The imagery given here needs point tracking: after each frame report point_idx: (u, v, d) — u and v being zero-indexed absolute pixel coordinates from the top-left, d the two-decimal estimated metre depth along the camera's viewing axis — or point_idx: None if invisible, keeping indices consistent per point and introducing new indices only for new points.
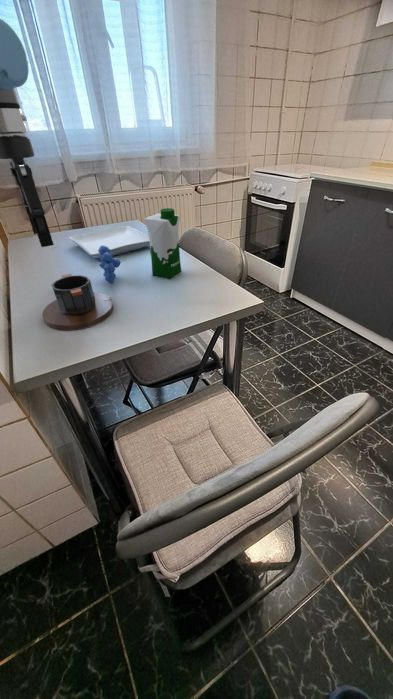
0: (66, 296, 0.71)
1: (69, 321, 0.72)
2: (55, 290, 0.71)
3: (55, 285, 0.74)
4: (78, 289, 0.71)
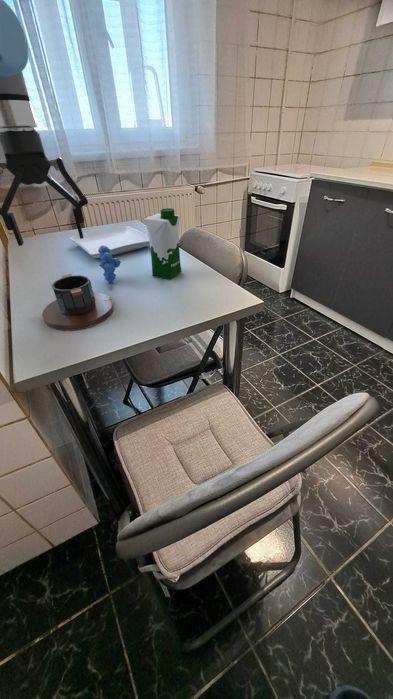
0: (66, 296, 0.71)
1: (69, 321, 0.72)
2: (55, 290, 0.71)
3: (55, 285, 0.74)
4: (78, 289, 0.71)
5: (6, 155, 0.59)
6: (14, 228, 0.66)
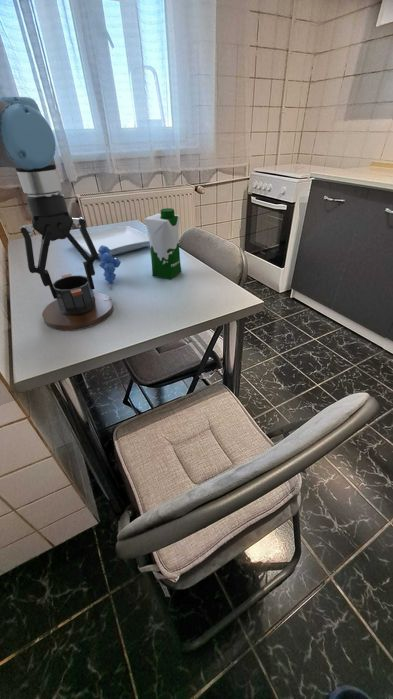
0: (66, 296, 0.71)
1: (69, 321, 0.72)
2: (55, 290, 0.71)
3: (55, 285, 0.74)
4: (78, 289, 0.71)
5: (34, 217, 0.62)
6: (51, 284, 0.70)
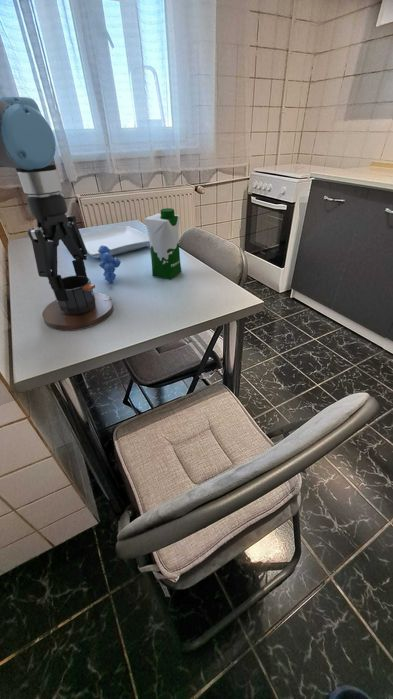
0: (78, 294, 0.72)
1: (69, 321, 0.72)
2: None
3: None
4: (89, 284, 0.73)
5: (43, 218, 0.61)
6: (63, 286, 0.69)
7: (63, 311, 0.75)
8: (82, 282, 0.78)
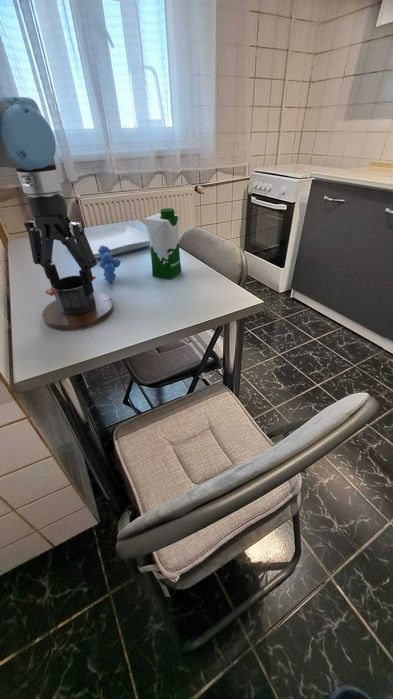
0: None
1: (69, 321, 0.72)
2: None
3: None
4: None
5: None
6: None
7: (84, 310, 0.75)
8: (63, 285, 0.77)
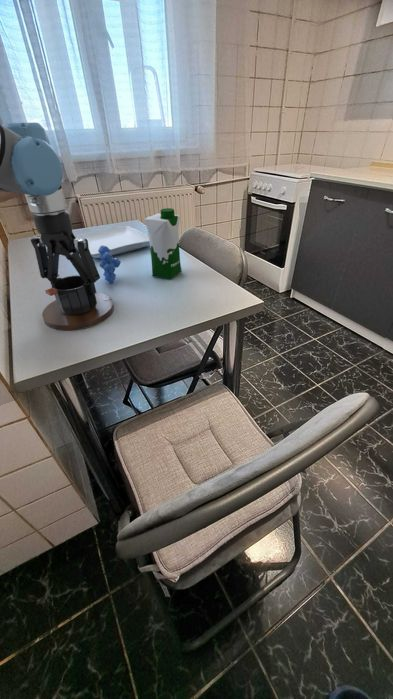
0: None
1: (69, 321, 0.72)
2: None
3: None
4: None
5: None
6: None
7: (84, 310, 0.75)
8: (63, 285, 0.77)
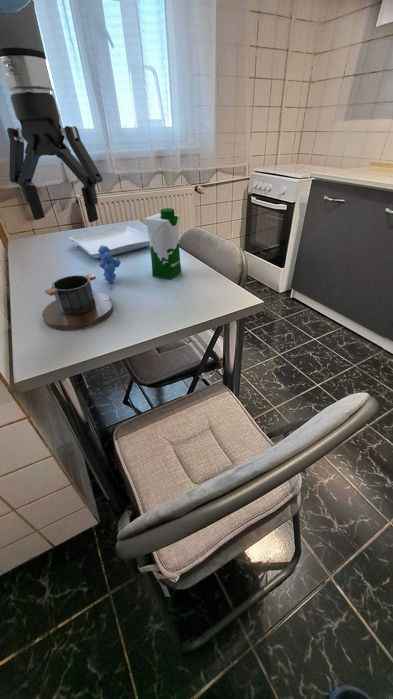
0: None
1: (69, 321, 0.72)
2: (86, 285, 0.73)
3: None
4: (86, 275, 0.77)
5: None
6: None
7: (84, 310, 0.75)
8: (63, 285, 0.77)
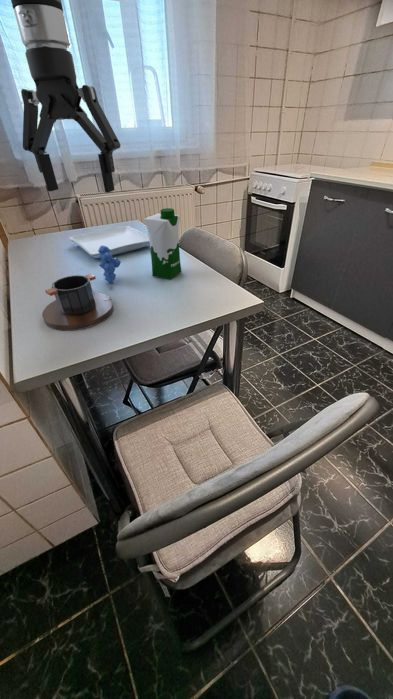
0: None
1: (69, 321, 0.72)
2: (86, 285, 0.73)
3: None
4: (86, 275, 0.77)
5: None
6: None
7: (84, 310, 0.75)
8: (63, 285, 0.77)
